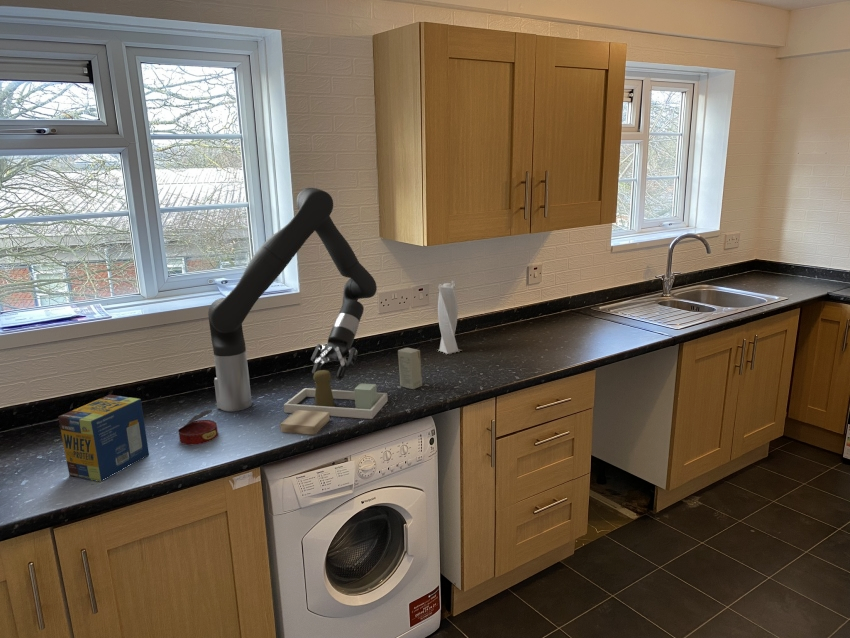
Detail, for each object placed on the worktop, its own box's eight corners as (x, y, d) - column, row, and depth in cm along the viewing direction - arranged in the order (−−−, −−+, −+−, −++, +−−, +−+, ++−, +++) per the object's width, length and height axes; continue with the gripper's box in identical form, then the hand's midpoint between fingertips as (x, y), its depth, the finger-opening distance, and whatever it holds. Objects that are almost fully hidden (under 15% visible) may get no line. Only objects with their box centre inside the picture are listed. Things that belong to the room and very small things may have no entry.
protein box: (68, 476, 149) (56, 416, 145) (119, 449, 163) (110, 393, 159) (100, 483, 145) (89, 421, 142) (150, 454, 159) (141, 397, 156)
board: (281, 431, 170) (280, 423, 169) (297, 417, 179) (296, 409, 179) (314, 434, 167) (314, 426, 167) (329, 420, 177) (329, 412, 176)
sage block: (355, 411, 183) (354, 389, 181) (361, 405, 187) (360, 383, 186) (371, 412, 181) (370, 390, 180) (377, 406, 186) (376, 384, 184)
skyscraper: (464, 352, 236) (463, 279, 229) (447, 356, 232) (445, 282, 225) (451, 347, 243) (449, 276, 236) (434, 351, 239) (432, 279, 232)
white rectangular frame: (284, 412, 184) (283, 404, 183) (305, 395, 197) (304, 388, 196) (372, 418, 177) (371, 410, 176) (387, 401, 190) (387, 393, 189)
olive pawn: (325, 400, 192) (322, 366, 189) (338, 404, 188) (336, 370, 185) (310, 406, 187) (307, 372, 185) (323, 411, 184) (320, 375, 181)
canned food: (191, 461, 165) (168, 435, 160) (188, 443, 174) (166, 418, 169) (228, 436, 167) (206, 410, 162) (224, 419, 176) (203, 394, 171)
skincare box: (422, 386, 201) (421, 350, 198) (413, 390, 198) (411, 353, 195) (408, 382, 206) (406, 346, 203) (399, 385, 203) (397, 349, 200)
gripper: (319, 323, 195) (300, 369, 188) (358, 326, 189) (341, 374, 182) (330, 335, 201) (312, 380, 193) (368, 339, 195) (351, 385, 188)
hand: (326, 377), depth 188 cm, fingers open, 8 cm apart
